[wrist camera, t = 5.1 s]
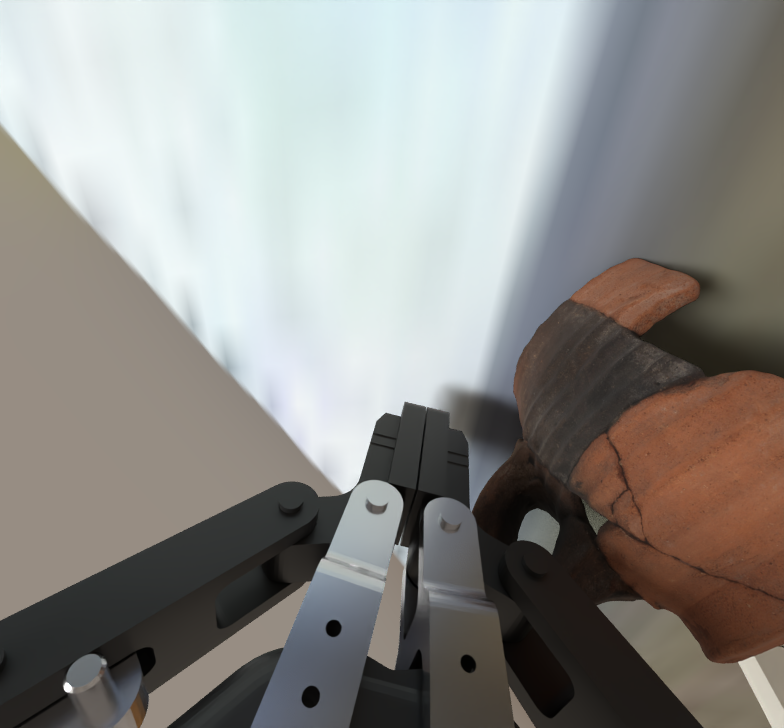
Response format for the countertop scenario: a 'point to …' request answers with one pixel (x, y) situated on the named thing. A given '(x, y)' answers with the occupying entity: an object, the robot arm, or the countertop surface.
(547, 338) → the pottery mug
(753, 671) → the box
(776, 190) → the countertop surface
